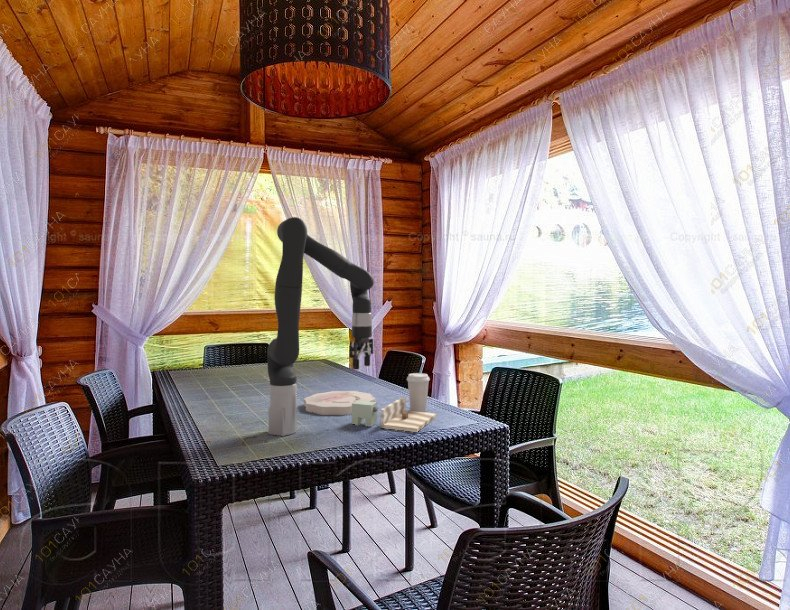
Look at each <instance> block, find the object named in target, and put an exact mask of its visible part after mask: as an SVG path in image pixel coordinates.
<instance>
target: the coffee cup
mask: <svg viewBox="0 0 790 610" xmlns="http://www.w3.org/2000/svg"><path fill="white" fill-rule="evenodd" d="M430 380H431V378H430V376H428V374H427V373H423V372H422V373H421V372H413V373H408V376H407V378H406V381H407V385H408V386H407V387H408V396H409V397H408V399H409V400H408V401H409V411H415V412H424V413H426V412H427V404H428V392H429V381H430ZM425 411H426V412H425Z"/></svg>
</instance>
